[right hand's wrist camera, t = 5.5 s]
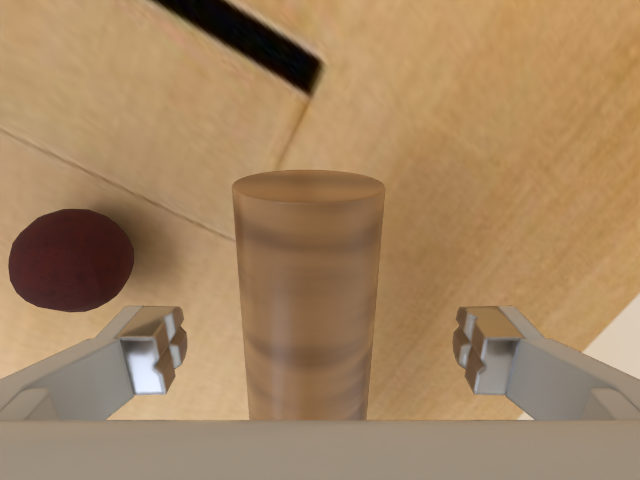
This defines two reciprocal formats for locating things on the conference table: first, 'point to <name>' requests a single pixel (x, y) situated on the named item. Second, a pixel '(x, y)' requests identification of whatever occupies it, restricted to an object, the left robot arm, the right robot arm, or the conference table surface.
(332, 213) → the cylinder
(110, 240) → the potato
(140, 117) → the conference table surface
